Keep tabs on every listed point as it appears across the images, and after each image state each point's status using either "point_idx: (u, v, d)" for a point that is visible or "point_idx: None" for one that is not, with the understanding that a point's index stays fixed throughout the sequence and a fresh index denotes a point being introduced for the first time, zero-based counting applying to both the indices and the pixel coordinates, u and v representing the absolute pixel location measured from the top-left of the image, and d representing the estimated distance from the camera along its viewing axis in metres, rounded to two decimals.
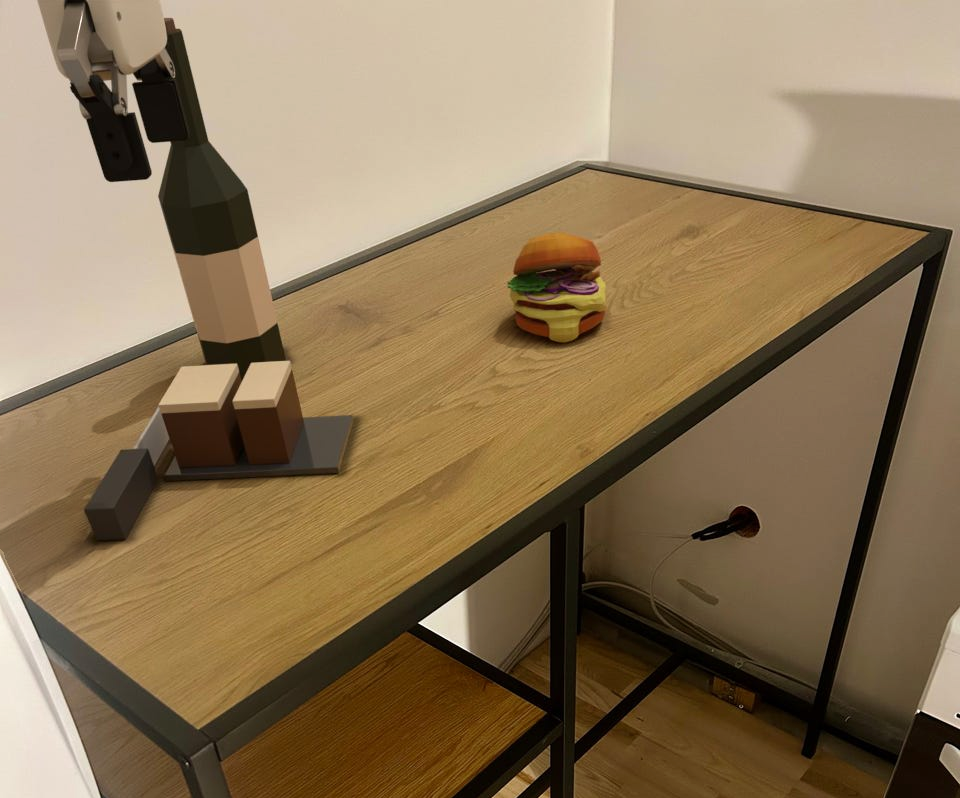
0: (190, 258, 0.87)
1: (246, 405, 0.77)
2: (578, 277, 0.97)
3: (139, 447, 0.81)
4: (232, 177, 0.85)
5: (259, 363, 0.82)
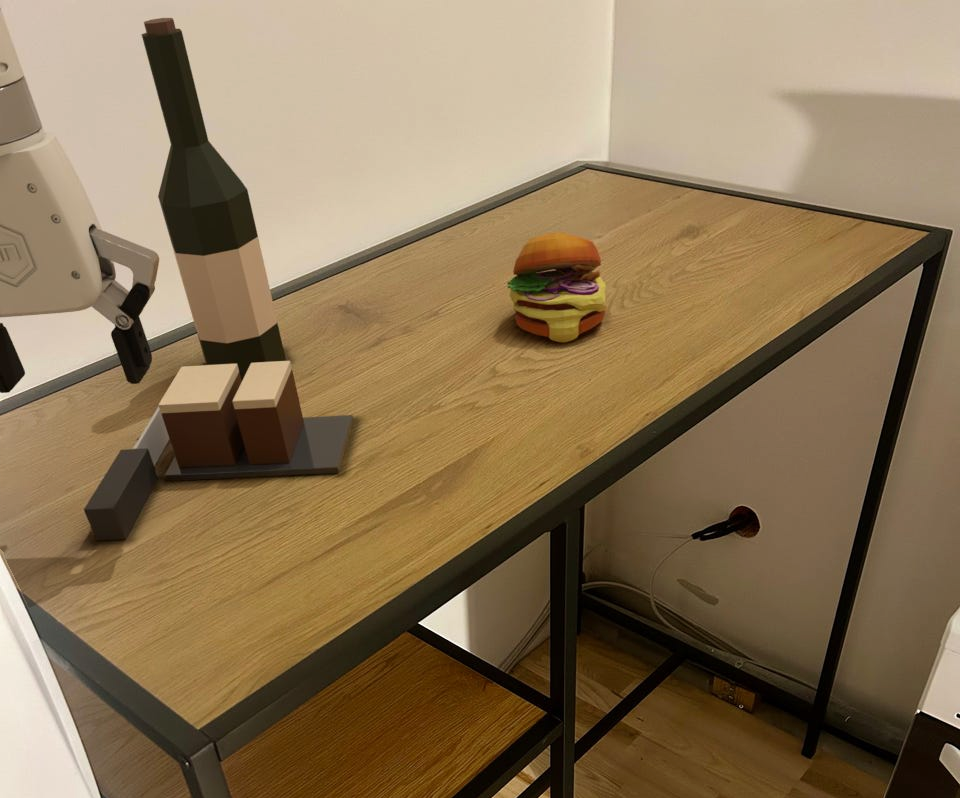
0: (190, 258, 0.87)
1: (246, 405, 0.77)
2: (578, 277, 0.97)
3: (139, 447, 0.81)
4: (232, 177, 0.85)
5: (259, 363, 0.82)
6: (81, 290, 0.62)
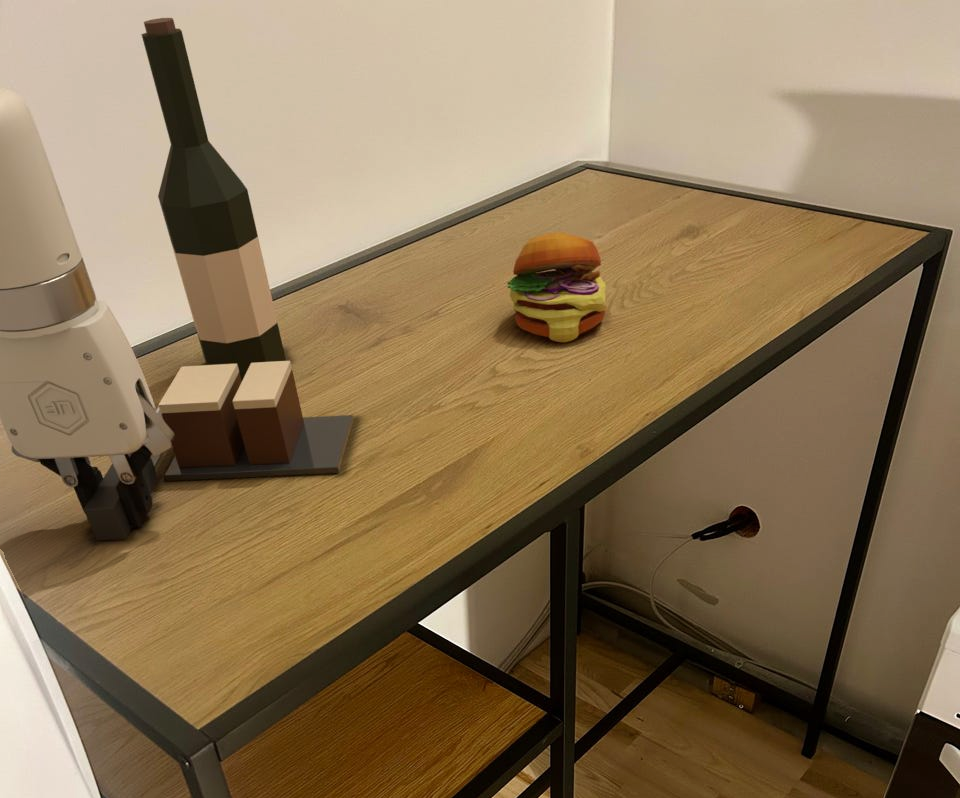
0: (190, 258, 0.87)
1: (246, 405, 0.77)
2: (578, 277, 0.97)
3: None
4: (232, 177, 0.85)
5: (259, 363, 0.82)
6: (127, 438, 0.69)
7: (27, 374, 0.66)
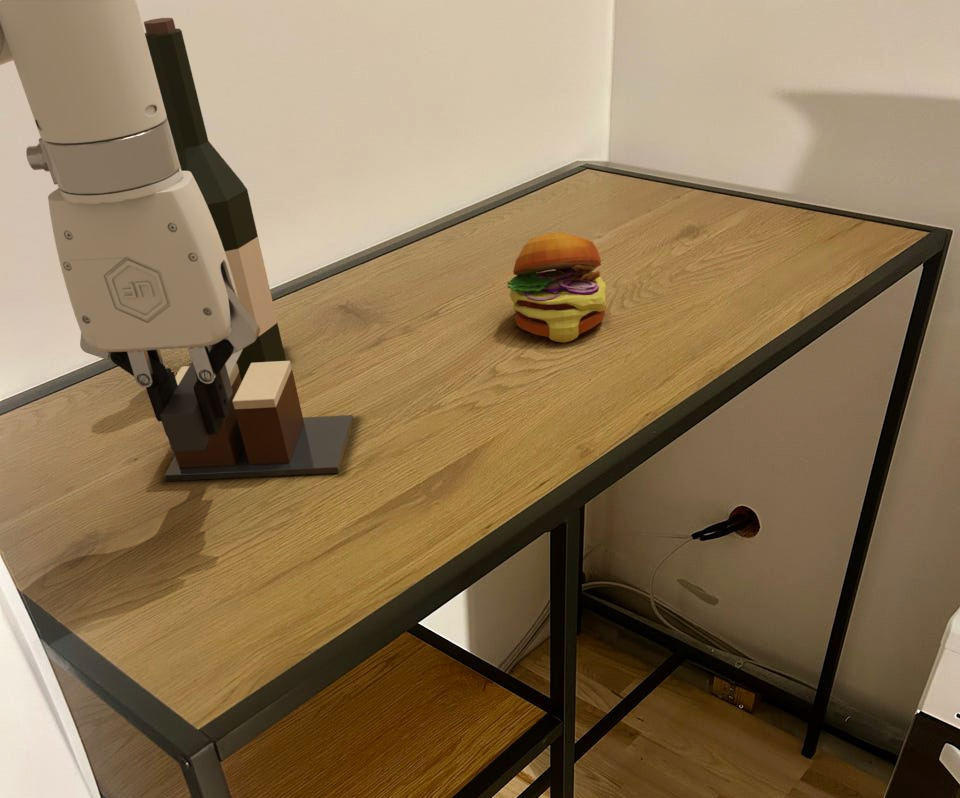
0: None
1: (246, 405, 0.77)
2: (578, 277, 0.97)
3: None
4: (232, 177, 0.85)
5: (259, 363, 0.82)
6: (211, 326, 0.63)
7: (105, 249, 0.60)
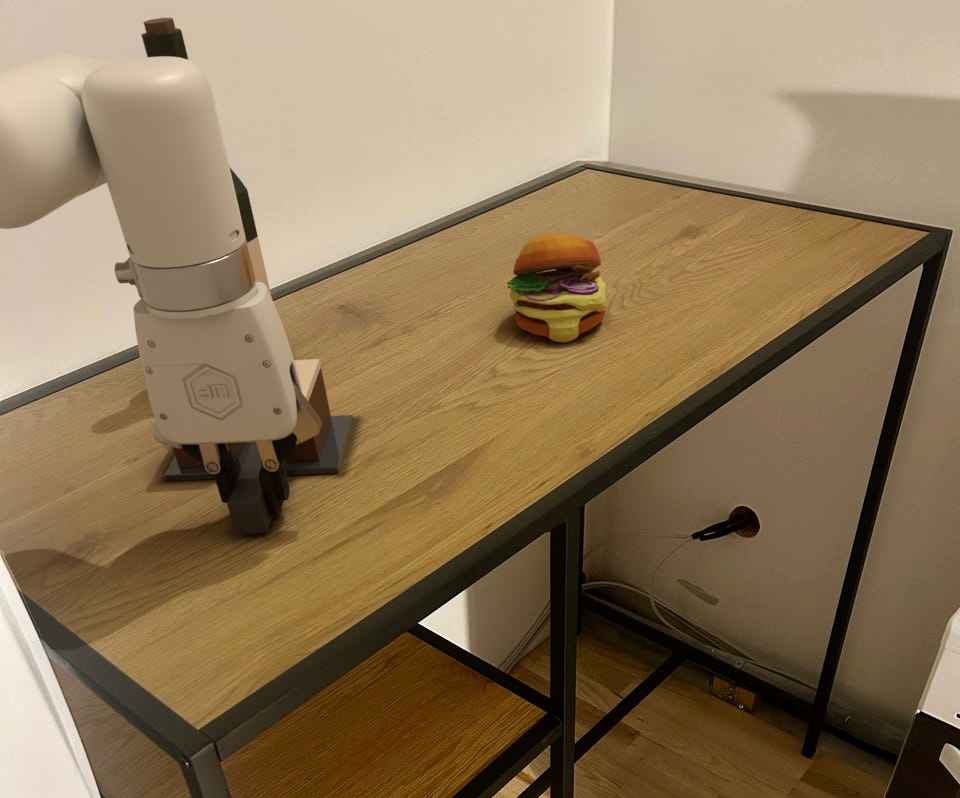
0: None
1: None
2: (578, 277, 0.97)
3: None
4: (232, 177, 0.85)
5: None
6: (280, 423, 0.68)
7: (185, 356, 0.64)
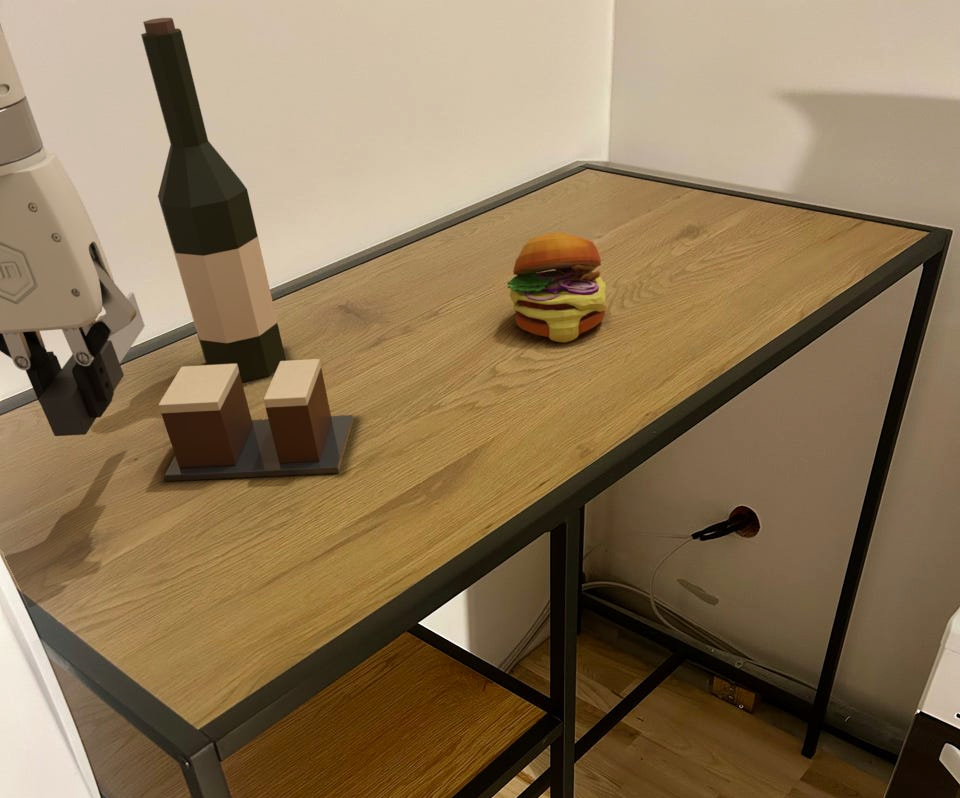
0: (190, 258, 0.87)
1: (277, 403, 0.77)
2: (578, 277, 0.97)
3: None
4: (232, 177, 0.85)
5: (288, 361, 0.82)
6: (81, 307, 0.63)
7: None
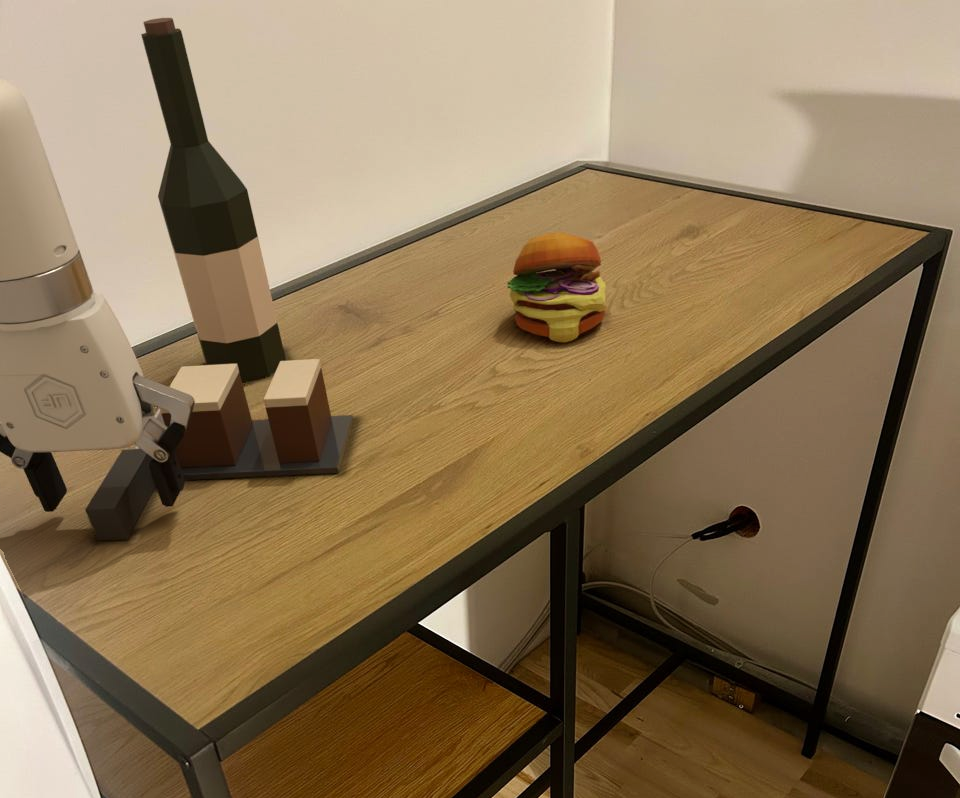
0: (190, 258, 0.87)
1: (277, 403, 0.77)
2: (578, 277, 0.97)
3: None
4: (232, 177, 0.85)
5: (288, 361, 0.82)
6: (124, 432, 0.69)
7: (24, 367, 0.66)
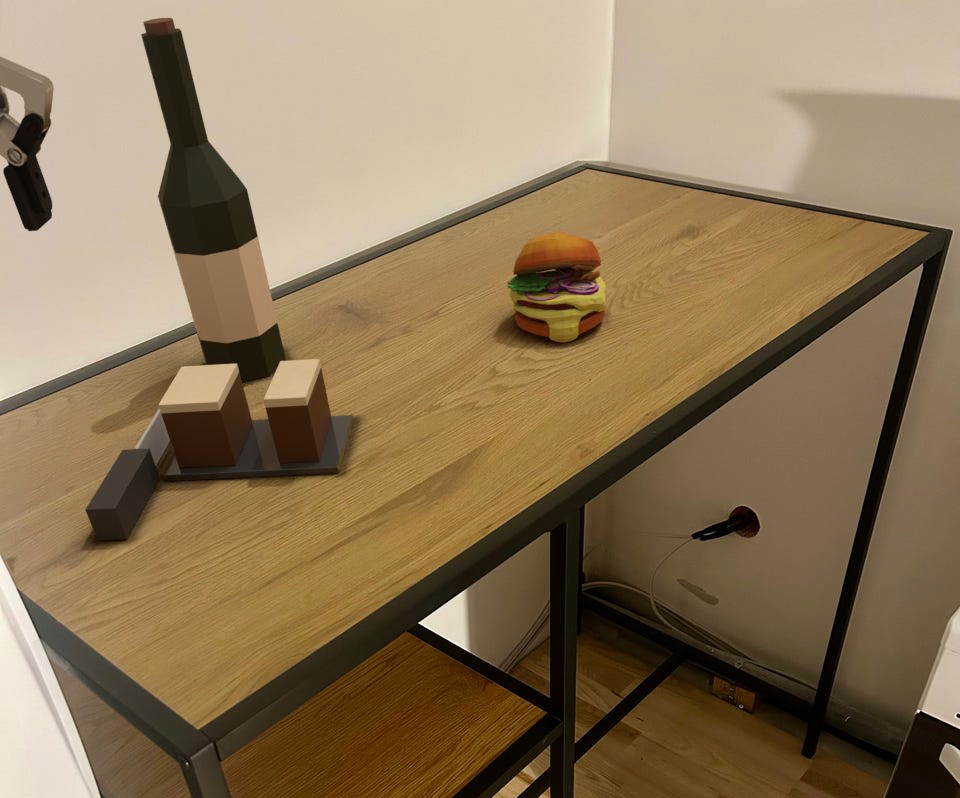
0: (190, 258, 0.87)
1: (277, 403, 0.77)
2: (578, 277, 0.97)
3: (141, 447, 0.81)
4: (232, 177, 0.85)
5: (288, 361, 0.82)
6: None
7: None
